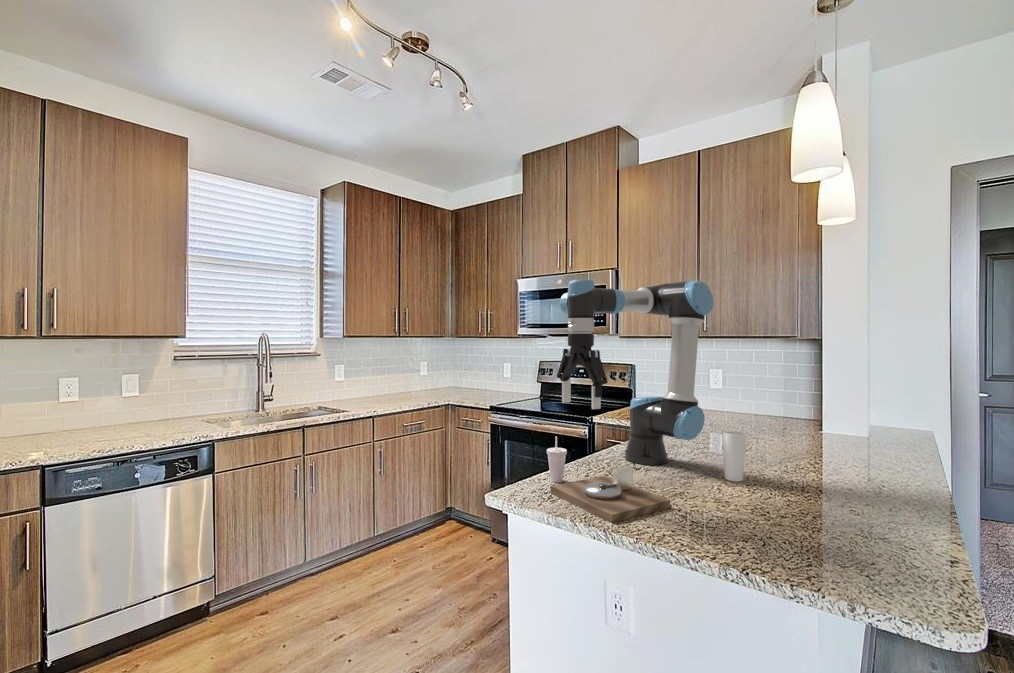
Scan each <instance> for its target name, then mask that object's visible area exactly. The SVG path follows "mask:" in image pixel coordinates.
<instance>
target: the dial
mask: <svg viewBox="0 0 1014 673" xmlns="http://www.w3.org/2000/svg"><path fill="white" fill-rule="evenodd" d="M612 478H613V484H611V483H605V482H593V483H588V484H586V485H585V487H584V493H585V494H586V495H587V496H589V497H592V498H596V499H604V500H610V499H617V498H619V497H621V491H622V490H626V489H631V488H633V486H634V485H633V484H634V482H633V481H634V480H633V479H634V467H633V466H631V465H624V466H619V467H614V468H612Z"/></svg>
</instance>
